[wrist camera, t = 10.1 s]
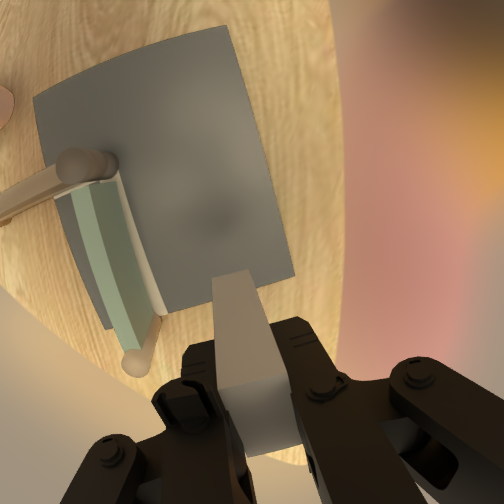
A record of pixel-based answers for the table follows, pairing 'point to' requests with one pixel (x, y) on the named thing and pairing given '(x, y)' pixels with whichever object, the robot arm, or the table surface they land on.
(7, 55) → the table surface
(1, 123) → the smoothie
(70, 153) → the base
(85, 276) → the card
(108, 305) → the gate panel
